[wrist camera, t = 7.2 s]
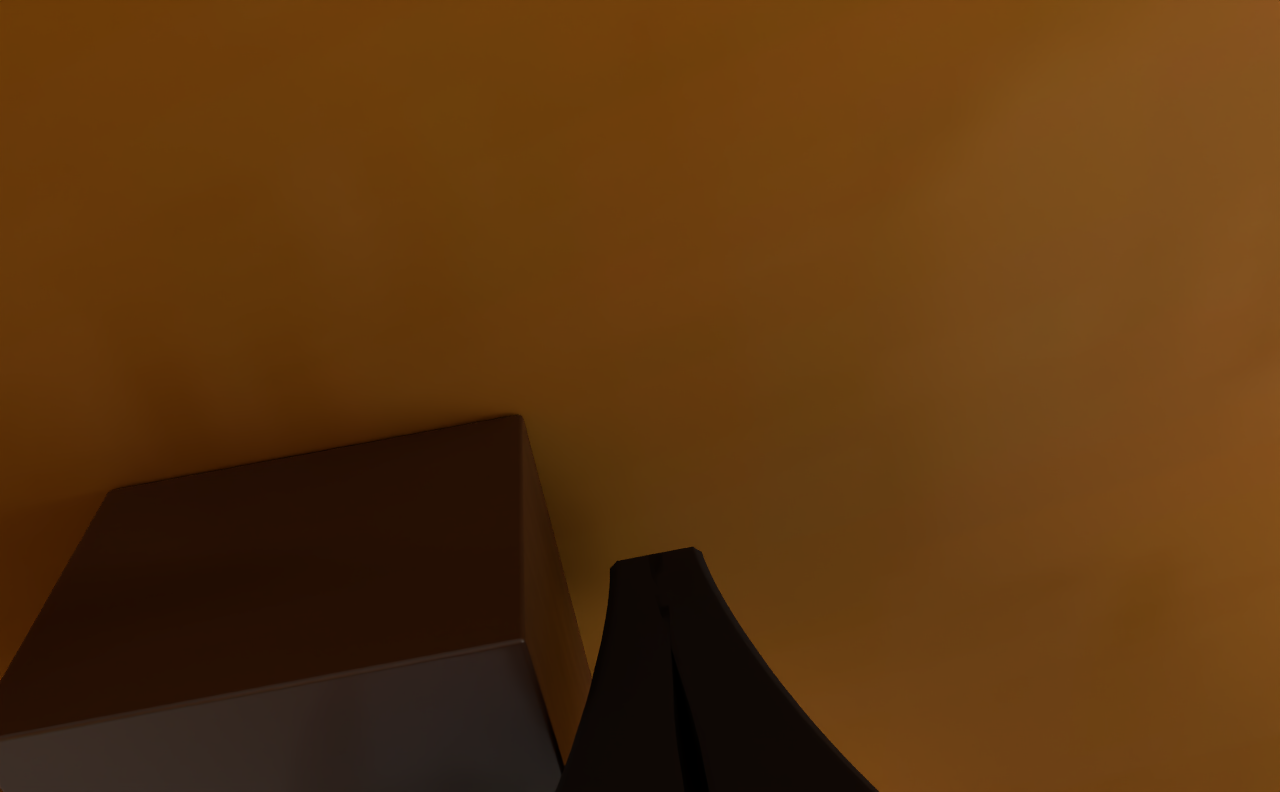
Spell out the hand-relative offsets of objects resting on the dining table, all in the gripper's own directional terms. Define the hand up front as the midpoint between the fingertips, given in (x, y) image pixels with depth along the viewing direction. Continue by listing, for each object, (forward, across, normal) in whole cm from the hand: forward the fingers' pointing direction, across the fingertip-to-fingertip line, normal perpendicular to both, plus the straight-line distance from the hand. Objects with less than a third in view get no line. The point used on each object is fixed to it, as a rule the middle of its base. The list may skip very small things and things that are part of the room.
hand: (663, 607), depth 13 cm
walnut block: (+1, +4, 0) cm, 4 cm away
